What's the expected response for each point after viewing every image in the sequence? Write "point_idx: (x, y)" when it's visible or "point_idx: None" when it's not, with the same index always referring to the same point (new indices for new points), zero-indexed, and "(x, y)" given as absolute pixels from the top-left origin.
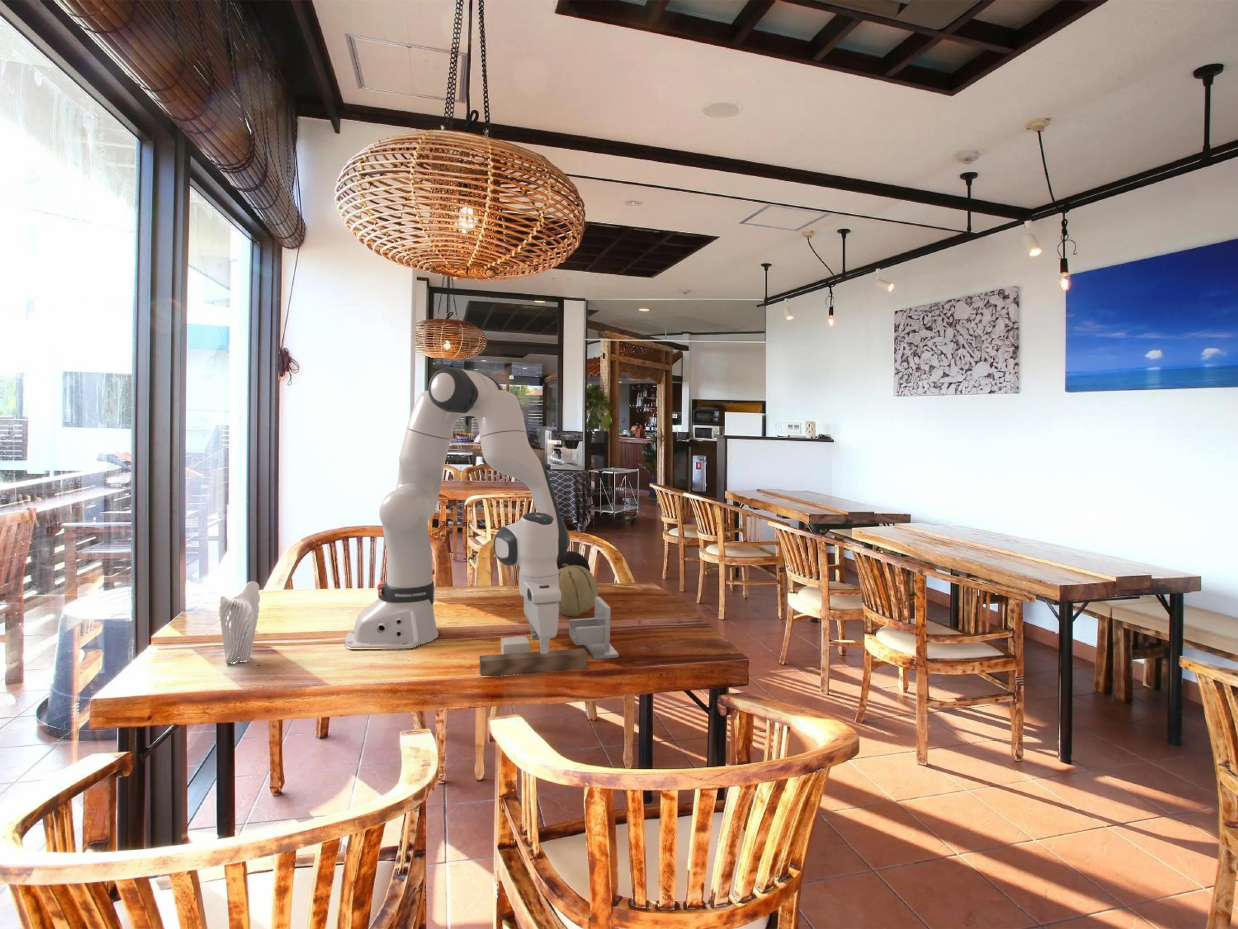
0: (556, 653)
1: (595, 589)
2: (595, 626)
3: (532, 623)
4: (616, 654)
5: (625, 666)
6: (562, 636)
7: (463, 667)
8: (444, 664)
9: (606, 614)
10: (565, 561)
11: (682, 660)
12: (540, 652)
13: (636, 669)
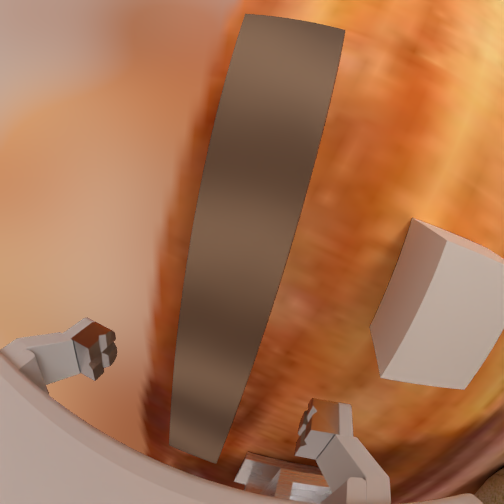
0: (197, 398)
1: None
2: None
3: (70, 448)
4: (235, 479)
5: (180, 455)
6: (448, 452)
7: (417, 35)
8: (464, 7)
9: None
10: None
11: None
12: (90, 320)
13: (160, 453)
